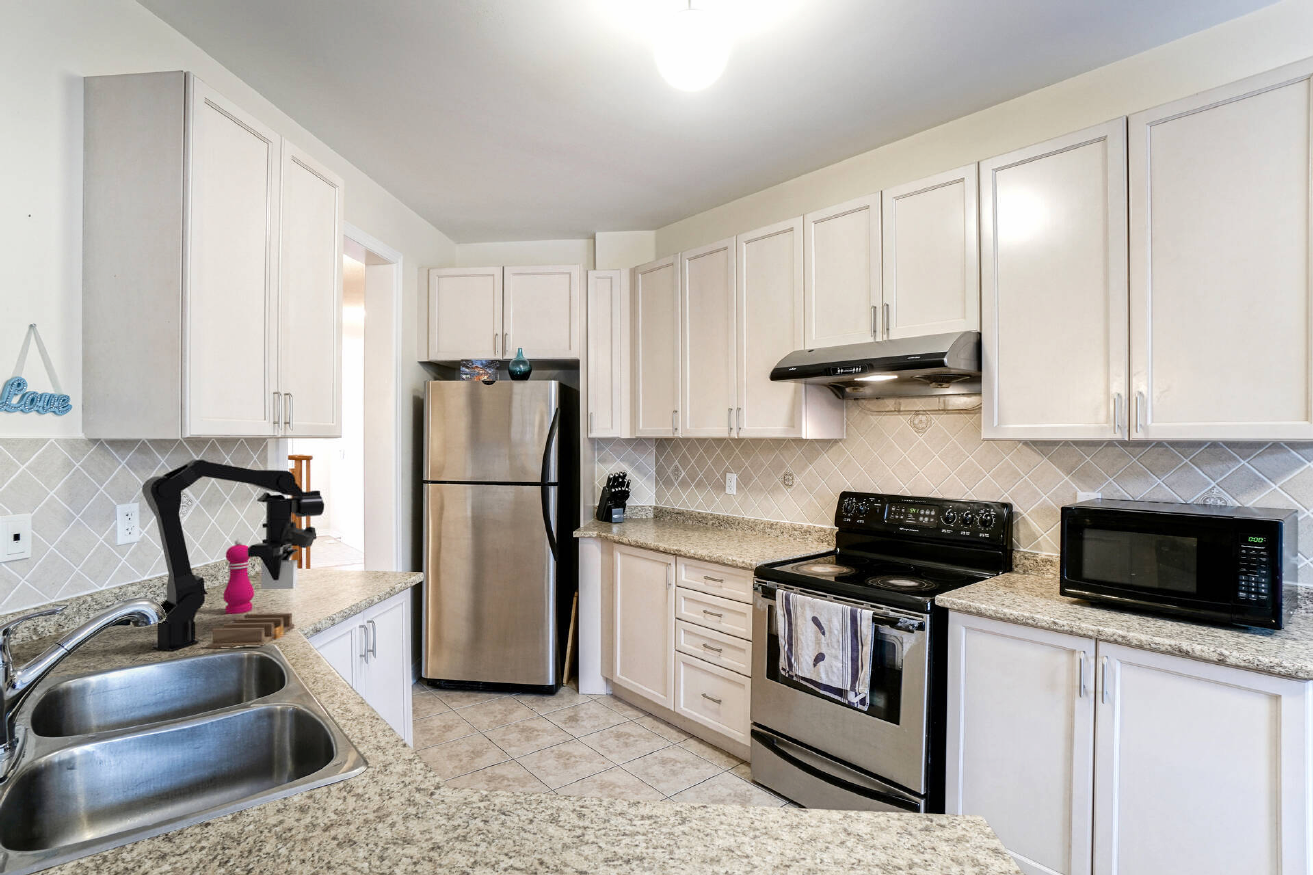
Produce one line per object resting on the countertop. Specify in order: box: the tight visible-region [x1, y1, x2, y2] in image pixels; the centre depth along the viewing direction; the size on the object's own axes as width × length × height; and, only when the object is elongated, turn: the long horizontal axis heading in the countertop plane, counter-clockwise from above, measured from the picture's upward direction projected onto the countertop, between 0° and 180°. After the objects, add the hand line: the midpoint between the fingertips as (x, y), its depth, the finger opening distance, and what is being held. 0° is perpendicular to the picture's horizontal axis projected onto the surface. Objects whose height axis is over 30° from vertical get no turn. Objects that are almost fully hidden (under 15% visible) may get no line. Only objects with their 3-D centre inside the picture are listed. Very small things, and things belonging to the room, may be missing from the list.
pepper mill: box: [222, 538, 255, 615], centre depth 183 cm, size 7×7×20 cm
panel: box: [260, 559, 298, 590], centre depth 170 cm, size 2×8×7 cm, turn 93°
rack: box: [209, 612, 295, 650], centre depth 158 cm, size 16×12×4 cm
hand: (278, 579), depth 170 cm, fingers closed on panel, 2 cm apart
